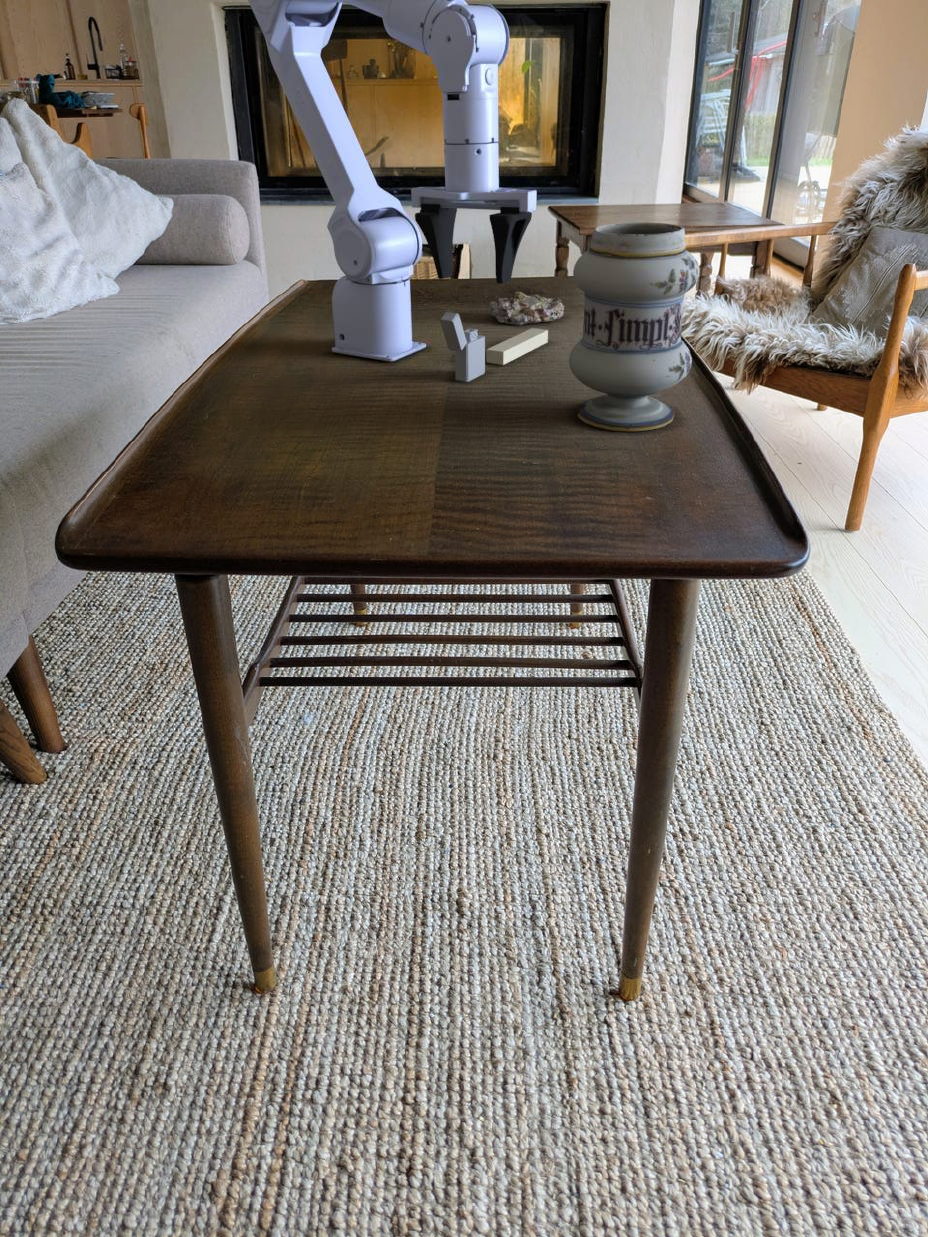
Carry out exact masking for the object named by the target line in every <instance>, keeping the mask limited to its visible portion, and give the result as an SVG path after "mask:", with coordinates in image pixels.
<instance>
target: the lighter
mask: <svg viewBox="0 0 928 1237" xmlns="http://www.w3.org/2000/svg"><path fill="white" fill-rule="evenodd" d="M439 322H440V325H441V329H442V333H443V335H444V338H445V342H446V345H447V349H448V350H449V351H453V352H454V366H455V367H454V368H455V370H454V371H455V381H459V382H465V383H466V382H467V383H469V382H471V381H473V380H475V379H476V378H479V377H480V376H482V375H484V374H485V372H486V335H481V334H478V333H479V332H478V329H477V328H467V329H465V330H464V326H463V323H462V320H461V317H460V314H459V313H457V312H451V311H445V313H444V314H443V316H442V317H441V318H440V320H439Z"/></svg>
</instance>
